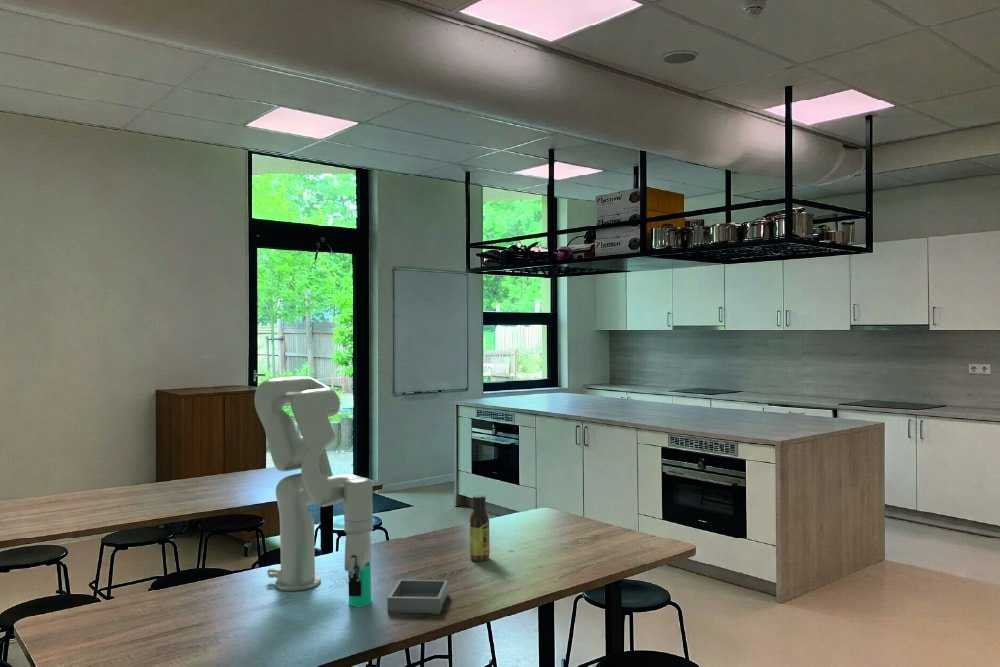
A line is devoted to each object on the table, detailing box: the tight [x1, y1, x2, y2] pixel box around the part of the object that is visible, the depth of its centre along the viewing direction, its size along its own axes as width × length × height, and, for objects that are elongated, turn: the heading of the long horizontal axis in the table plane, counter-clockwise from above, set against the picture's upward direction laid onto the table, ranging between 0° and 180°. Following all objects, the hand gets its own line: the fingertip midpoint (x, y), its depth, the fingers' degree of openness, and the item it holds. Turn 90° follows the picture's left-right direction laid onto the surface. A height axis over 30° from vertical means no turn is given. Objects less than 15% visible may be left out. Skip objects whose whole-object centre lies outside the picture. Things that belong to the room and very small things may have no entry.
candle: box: [347, 561, 372, 608], centre depth 196 cm, size 6×6×12 cm
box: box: [386, 579, 449, 615], centre depth 195 cm, size 14×14×4 cm
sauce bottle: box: [469, 494, 491, 562], centre depth 232 cm, size 7×6×20 cm
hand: (359, 589), depth 196 cm, fingers open, 8 cm apart
